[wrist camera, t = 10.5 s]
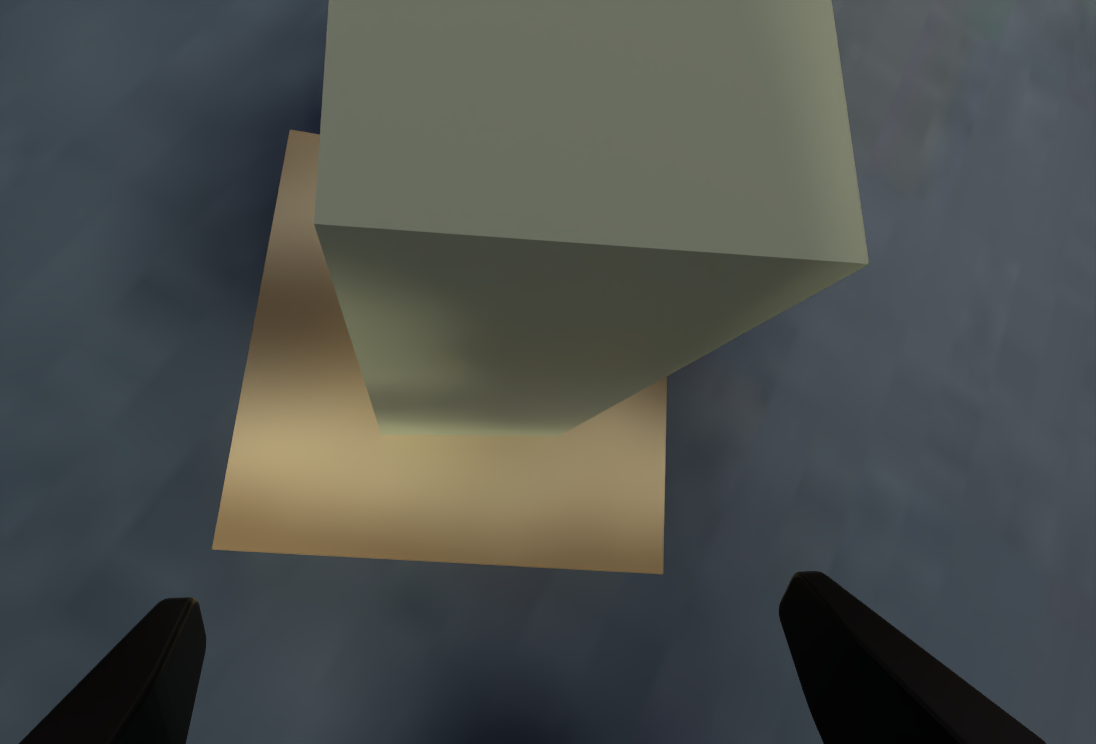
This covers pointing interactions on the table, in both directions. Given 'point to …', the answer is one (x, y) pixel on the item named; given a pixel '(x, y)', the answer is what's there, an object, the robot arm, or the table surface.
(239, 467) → the maple base
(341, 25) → the sage pillar
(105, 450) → the table surface
